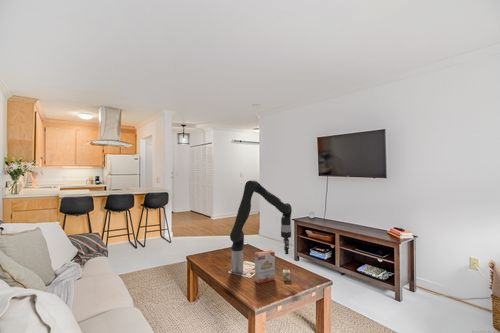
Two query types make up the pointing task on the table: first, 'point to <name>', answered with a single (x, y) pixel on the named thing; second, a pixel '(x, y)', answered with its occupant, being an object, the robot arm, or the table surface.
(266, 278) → the cracker box
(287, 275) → the metal block
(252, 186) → the robot arm
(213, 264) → the table surface
